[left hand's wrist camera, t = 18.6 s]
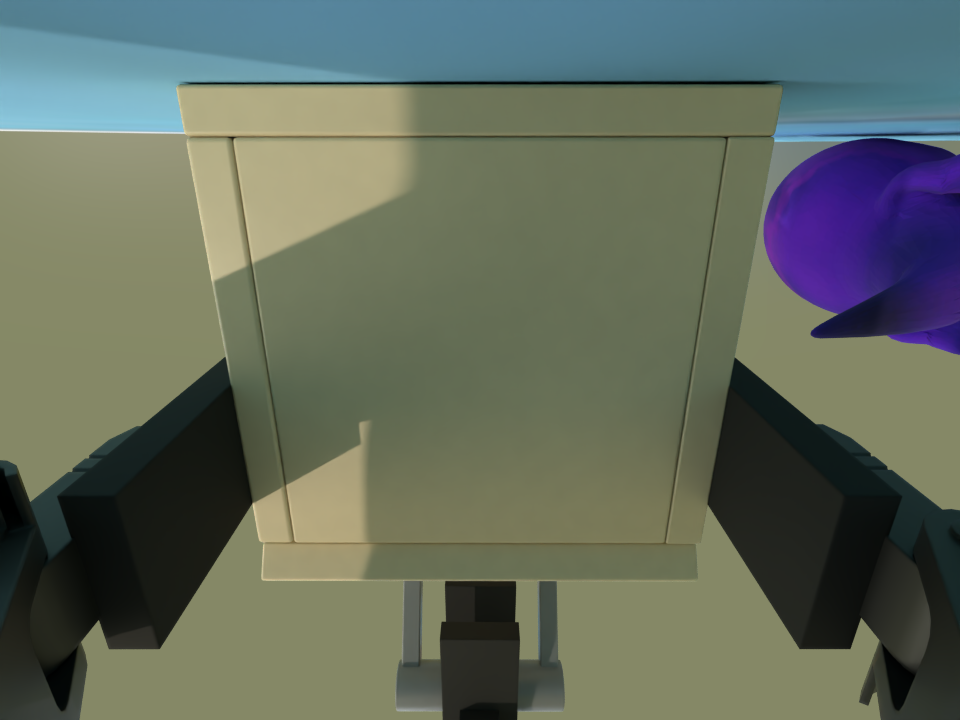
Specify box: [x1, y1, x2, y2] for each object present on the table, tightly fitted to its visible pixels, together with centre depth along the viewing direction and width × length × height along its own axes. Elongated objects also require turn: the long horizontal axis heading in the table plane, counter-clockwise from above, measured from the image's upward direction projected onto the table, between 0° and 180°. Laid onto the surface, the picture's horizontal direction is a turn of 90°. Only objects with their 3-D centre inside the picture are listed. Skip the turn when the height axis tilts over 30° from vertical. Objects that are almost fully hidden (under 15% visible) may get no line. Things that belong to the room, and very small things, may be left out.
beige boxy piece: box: [262, 540, 698, 711], centre depth 18 cm, size 14×10×8 cm
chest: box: [176, 84, 783, 544], centre depth 16 cm, size 13×10×9 cm
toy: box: [764, 138, 960, 355], centre depth 45 cm, size 16×18×27 cm
